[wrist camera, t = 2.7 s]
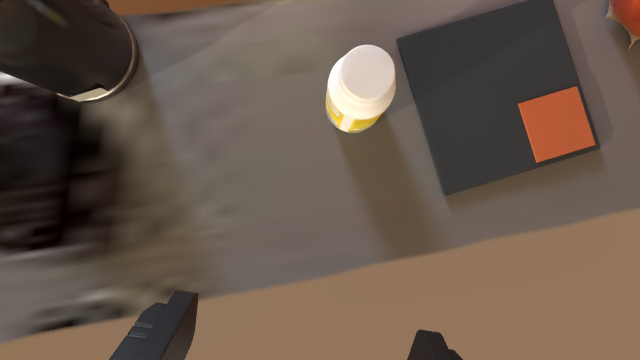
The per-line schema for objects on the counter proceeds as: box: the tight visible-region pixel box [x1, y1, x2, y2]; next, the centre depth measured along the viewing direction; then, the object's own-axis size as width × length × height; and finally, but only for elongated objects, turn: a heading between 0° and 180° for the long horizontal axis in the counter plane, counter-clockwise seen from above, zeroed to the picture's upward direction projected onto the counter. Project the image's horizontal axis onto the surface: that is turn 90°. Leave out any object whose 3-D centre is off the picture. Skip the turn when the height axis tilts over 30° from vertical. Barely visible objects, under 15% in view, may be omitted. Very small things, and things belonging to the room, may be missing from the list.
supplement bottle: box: [326, 45, 396, 133], centre depth 30 cm, size 5×5×10 cm
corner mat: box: [396, 0, 600, 196], centre depth 35 cm, size 16×16×1 cm
